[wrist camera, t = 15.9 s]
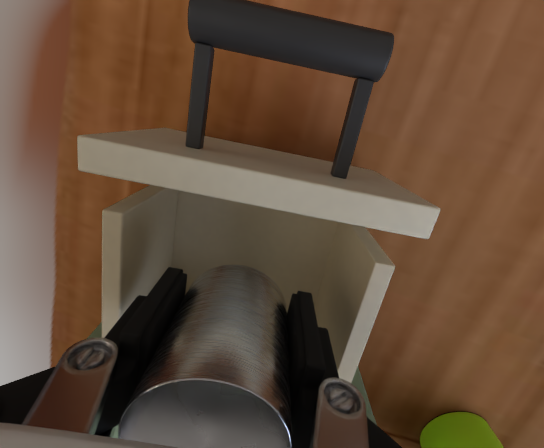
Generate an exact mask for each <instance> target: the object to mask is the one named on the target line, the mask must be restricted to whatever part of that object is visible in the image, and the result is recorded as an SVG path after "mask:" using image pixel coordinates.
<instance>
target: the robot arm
mask: <svg viewBox="0 0 544 448" xmlns="http://www.w3.org/2000/svg"><path fill="white" fill-rule="evenodd" d="M186 283H187V274H185V273H183V269H178V268H172V267H168V268H167V270H166V271H165V272H164V274H163V275H162V276H161V278H160V279H159V280H158V282H157V283H156V284H155V286H154V287H153V288H152V290H151V291H150V293H149V294H148V295H147V296H143V295H139V296H137V297H136V298H135V300H134V301H133V302H132V303H131V305H130V306H129V307H128V309H127V310H126V311H125V312H124V314H123V315H122V316H121V317H120V319H119V320H118V321H117V322H116V324H115V325H114V326H113V327H112V329H111V330H110V331H109V332H108V334H107V335H106V336H105V337H104V338H100V337H97V338H89V339H85V340H82V341H79V342H77V343H75V344H73V345H72V346H71V347H69V348H68V349H67V350H66V351H65V352H64V354H63V355H62V357H61V358H60V360H59V362H58V364H57V365H56V367H53V368H50V369H47V370H45V371H42V372H39V373H36V374H33V375H30V376H28V377H25V378H22V379H19V380H17V381H14V382H11V383H8V384H5V385H2V386H0V448H178V447H171V446H165V445H158V444H152V443H145V442H138V441H132V440H125V439H118V438H113V436H114V432H115V426H117V425H119V422H120V419H121V416H122V414H123V412H124V410H125V408H126V406H127V404H128V403H129V401H130V399H131V397H132V395H133V393H134V391H135V389H136V387H137V386H138V384H139V382H140V380H141V378H142V376H143V374H144V372H145V370H146V369H147V367H148V365H149V363H150V361H151V359H152V357H153V355H154V353H155V351H156V350H157V348H158V346H159V344H160V342H161V340H162V338H163V336H164V334H165V333H166V331H167V329H168V327H169V325H170V323H171V321H172V319H173V317H174V316H175V314H176V312H177V310H178V308H179V306H180V304H181V302H182V300H183V299H184V297H185V292H186ZM287 333H288V356H289V378H290V401H291V424H292V448H402V447H401V446H400V445H398V444H397V443H396V442H395V441H394V440H393V439H392V438H391V437H389V436H388V435H387V434H386V433H385V432H384V431H383V430H381V429H380V428H379V427H378V426H377V425H376V424H375V423H374V422H372V421H371V420H370V419H369V418H368V417H367V414H366V404H365V400H364V397H363V396H362V394H361V392H360V391H359V390H358V389H357V388H356V387H355V386H354V385H353V384H351V383H350V382H348V381H346V380H344V379H341V378H339V375H338V371H337V366H336V362H335V358H334V354H333V349H332V345H331V341H330V337H329V332H328V330H327V329H326V328H322V327H318V324H317V319H316V313H315V308H314V303H313V298H312V293H309V292H303V291H298V292H297V294H295V293H293V294H292V296H291V300H290V304H289V308H288V312H287Z"/></svg>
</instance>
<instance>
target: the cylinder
mask: <svg viewBox="0 0 544 448" xmlns="http://www.w3.org/2000/svg"><path fill="white" fill-rule="evenodd" d="M118 439H125V440H132V441H138V442H145V443H152V444H158V445H165V446H171V447H178V448H292V424H291V401H290V378H289V356H288V333H287V310H286V302H285V299H284V296H283V294H282V291H281V290H280V288H279V287H278V285H277V284H276V283H275V282H274V281H273V280H272V279H271V278H270V277H269V276H267V275H266V274H264V273H263V272H261V271H259V270H257V269H254V268H251V267H248V266H244V265H222V266H218V267H215V268H212V269H210V270H208V271H206V272H204V273H203V274H201V275H200V276H198V277H197V278H196V279H195V280H194V282H193V283H192V284H191V286H190V287H189V289H188V291H187V293H186V295H185V297H184V299H183V300H182V302H181V304H180V306H179V308H178V310H177V312H176V314H175V316H174V317H173V319H172V321H171V323H170V325H169V327H168V329H167V331H166V333H165V334H164V336H163V338H162V340H161V342H160V344H159V346H158V348H157V350H156V351H155V353H154V355H153V357H152V359H151V361H150V363H149V365H148V367H147V369H146V370H145V372H144V374H143V376H142V378H141V380H140V382H139V384H138V386H137V387H136V389H135V391H134V393H133V395H132V397H131V399H130V401H129V403H128V404H127V406H126V408H125V410H124V412H123V414H122V416H121V419H120V422H119V428H118Z"/></svg>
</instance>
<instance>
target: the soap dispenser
mask: <svg viewBox="0 0 544 448" xmlns="http://www.w3.org/2000/svg"><path fill="white" fill-rule="evenodd" d="M420 444H421V447H422V448H504V447H503V445H502V444H501V442H500V441H499V440H498V438H497V437H496V435H495V434H494V432H493V431H492V429H491V428H490V426H489V425H488V423H487V422H486V421H485V420H484V419H483V418H481V417H480V416H478V415H476V414H473V413H468V412H452V413H447V414H444V415H441V416H439V417H437V418H435V419H433V420H432V421H430V422H429V423H428V424H427V425H426V426H425V427H424V429H423V430H422V432H421V435H420Z"/></svg>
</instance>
